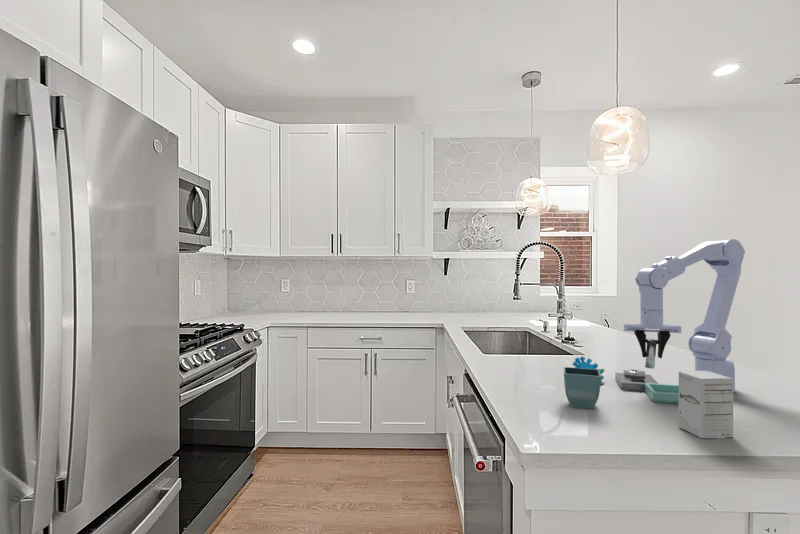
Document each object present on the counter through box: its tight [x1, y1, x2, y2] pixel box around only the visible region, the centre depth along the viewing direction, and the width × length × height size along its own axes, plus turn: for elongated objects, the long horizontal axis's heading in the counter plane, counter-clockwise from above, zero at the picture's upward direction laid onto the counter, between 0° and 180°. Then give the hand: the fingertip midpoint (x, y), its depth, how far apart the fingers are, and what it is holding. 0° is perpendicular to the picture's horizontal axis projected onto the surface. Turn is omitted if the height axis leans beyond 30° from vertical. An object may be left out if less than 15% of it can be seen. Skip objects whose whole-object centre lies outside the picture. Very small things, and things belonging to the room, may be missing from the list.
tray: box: [644, 383, 679, 405], centre depth 127 cm, size 14×11×2 cm
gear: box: [572, 356, 605, 384], centre depth 146 cm, size 11×6×10 cm
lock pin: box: [644, 338, 659, 370], centre depth 134 cm, size 4×4×8 cm
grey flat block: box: [614, 368, 659, 392], centre depth 142 cm, size 10×14×4 cm
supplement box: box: [678, 370, 734, 439], centre depth 100 cm, size 7×7×13 cm
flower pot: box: [563, 366, 602, 410], centre depth 120 cm, size 9×9×9 cm
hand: (651, 357), depth 134 cm, fingers closed on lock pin, 3 cm apart
